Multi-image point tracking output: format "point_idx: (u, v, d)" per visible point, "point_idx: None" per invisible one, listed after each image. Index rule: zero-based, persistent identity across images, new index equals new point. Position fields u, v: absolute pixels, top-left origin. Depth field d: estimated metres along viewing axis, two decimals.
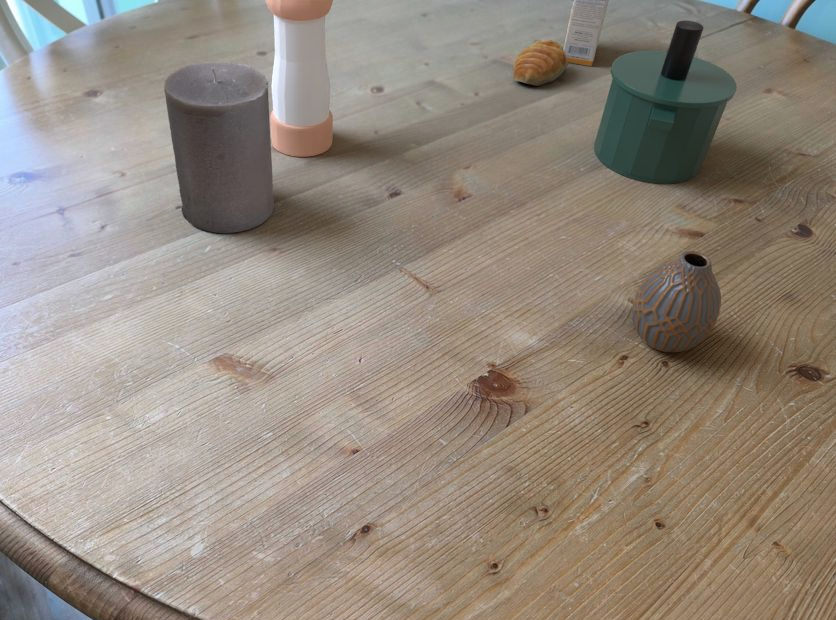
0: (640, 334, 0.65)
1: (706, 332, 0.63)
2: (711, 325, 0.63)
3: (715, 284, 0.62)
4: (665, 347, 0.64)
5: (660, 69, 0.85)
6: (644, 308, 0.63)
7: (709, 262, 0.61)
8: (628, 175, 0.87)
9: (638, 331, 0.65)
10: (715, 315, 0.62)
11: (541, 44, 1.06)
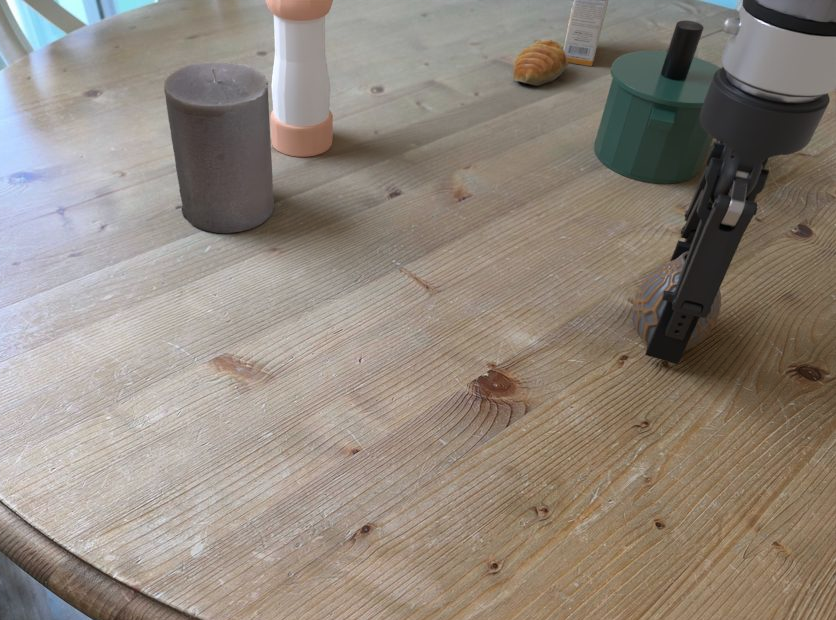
0: (640, 334, 0.65)
1: (706, 332, 0.63)
2: (711, 325, 0.63)
3: None
4: None
5: (660, 69, 0.85)
6: (644, 308, 0.63)
7: None
8: (628, 175, 0.87)
9: (638, 331, 0.65)
10: (715, 315, 0.62)
11: (541, 44, 1.06)
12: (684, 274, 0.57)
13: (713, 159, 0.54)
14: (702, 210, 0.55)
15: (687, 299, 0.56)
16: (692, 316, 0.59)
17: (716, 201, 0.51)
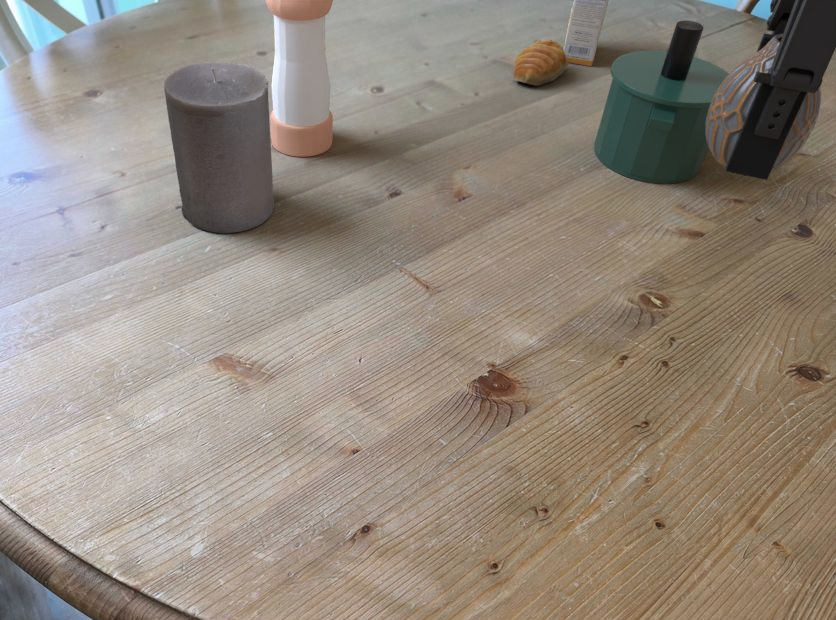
0: (717, 150, 0.53)
1: (802, 138, 0.51)
2: (809, 128, 0.50)
3: None
4: None
5: (660, 69, 0.85)
6: (725, 111, 0.51)
7: None
8: (628, 175, 0.87)
9: (714, 147, 0.53)
10: (815, 115, 0.50)
11: (541, 44, 1.06)
12: (786, 41, 0.45)
13: None
14: None
15: (792, 67, 0.44)
16: (793, 100, 0.46)
17: None
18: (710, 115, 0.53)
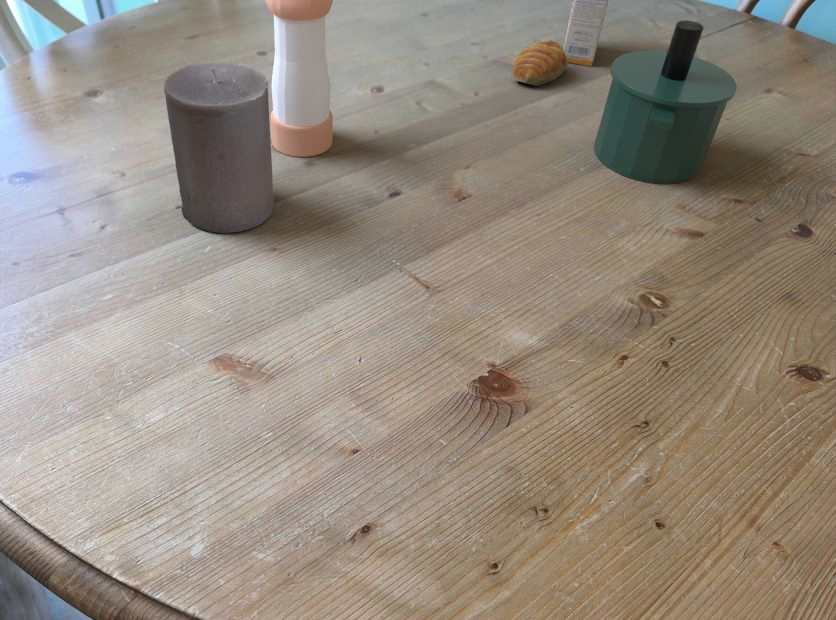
0: None
1: None
2: None
3: None
4: None
5: (660, 69, 0.85)
6: None
7: None
8: (628, 175, 0.87)
9: None
10: None
11: (541, 44, 1.06)
12: None
13: None
14: None
15: None
16: None
17: None
18: None
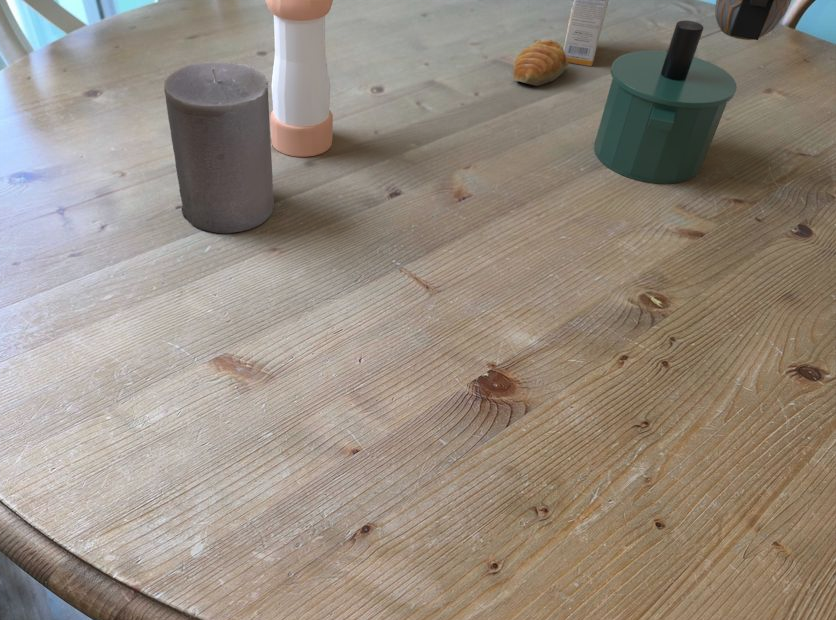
0: (723, 22, 0.77)
1: (782, 10, 0.74)
2: (786, 3, 0.74)
3: None
4: None
5: (660, 69, 0.85)
6: None
7: None
8: (628, 175, 0.87)
9: (721, 20, 0.77)
10: None
11: (541, 44, 1.06)
12: None
13: None
14: None
15: None
16: None
17: None
18: None
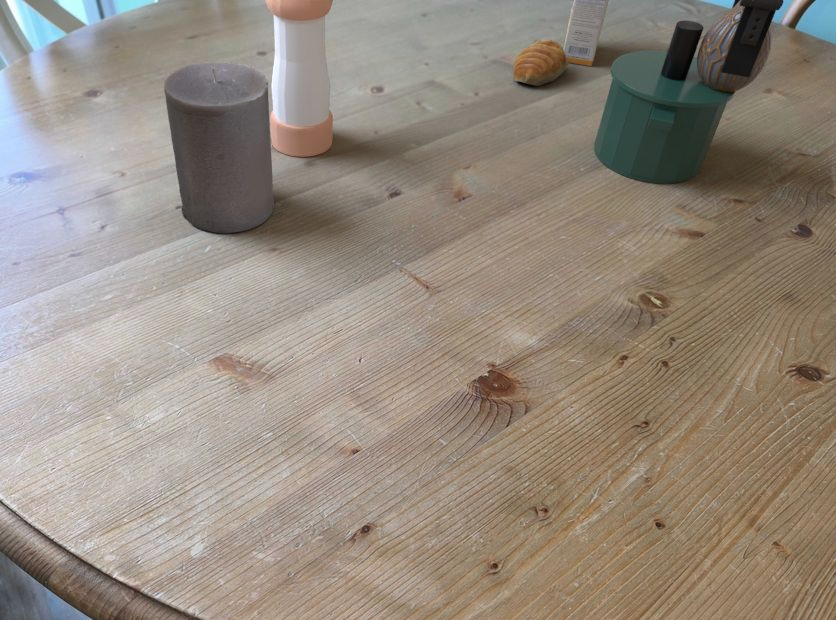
0: (704, 75, 0.81)
1: (759, 66, 0.78)
2: (763, 59, 0.78)
3: None
4: (725, 82, 0.80)
5: (660, 69, 0.85)
6: (709, 48, 0.79)
7: None
8: (628, 175, 0.87)
9: (702, 73, 0.81)
10: (767, 50, 0.78)
11: (541, 44, 1.06)
12: None
13: None
14: None
15: None
16: (765, 17, 0.70)
17: None
18: (700, 52, 0.80)
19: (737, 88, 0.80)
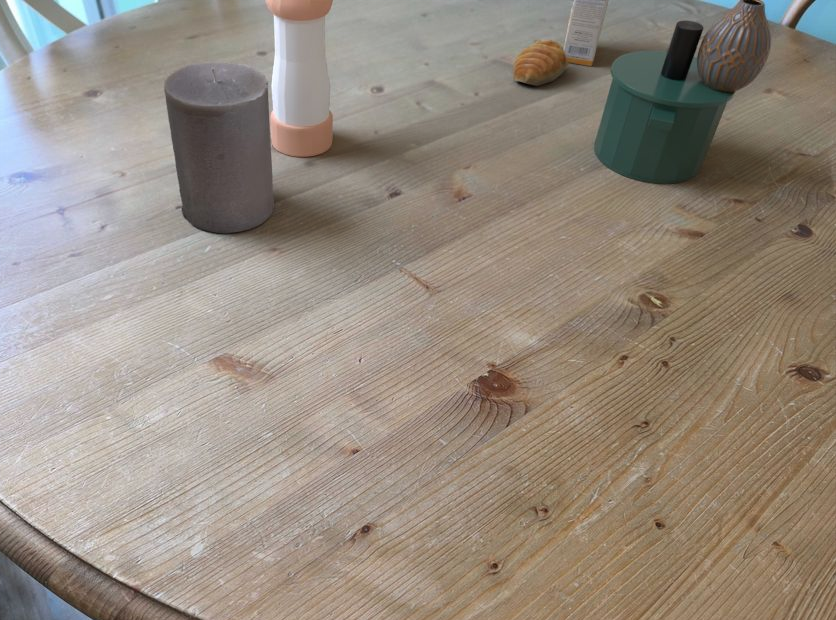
0: (704, 75, 0.81)
1: (759, 66, 0.78)
2: (763, 59, 0.78)
3: (767, 23, 0.77)
4: (725, 82, 0.80)
5: (660, 69, 0.85)
6: (709, 48, 0.79)
7: (763, 3, 0.76)
8: (628, 175, 0.87)
9: (702, 73, 0.81)
10: (767, 50, 0.78)
11: (541, 44, 1.06)
12: None
13: None
14: None
15: None
16: None
17: None
18: (700, 52, 0.80)
19: (737, 88, 0.80)
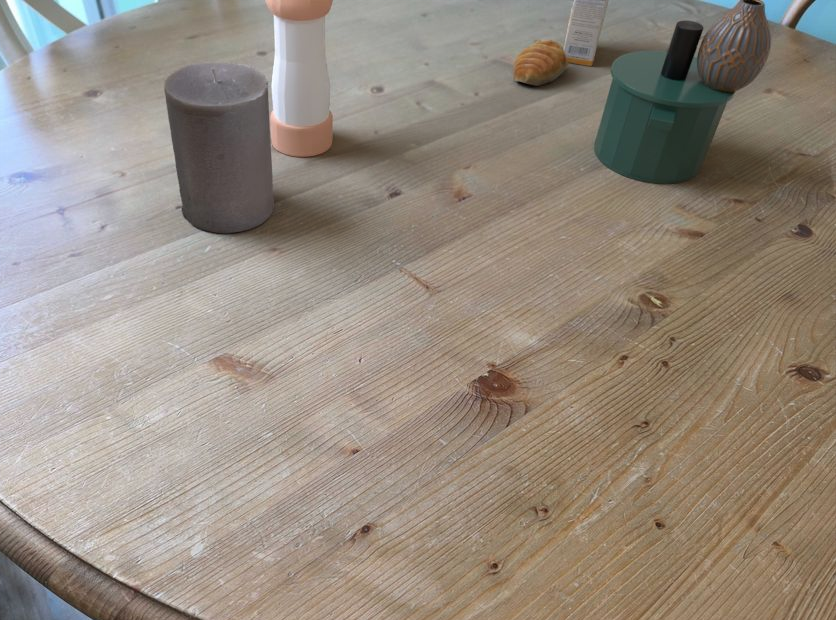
0: (704, 75, 0.81)
1: (759, 66, 0.78)
2: (763, 59, 0.78)
3: (767, 23, 0.77)
4: (725, 82, 0.80)
5: (660, 69, 0.85)
6: (709, 48, 0.79)
7: (763, 3, 0.76)
8: (628, 175, 0.87)
9: (702, 73, 0.81)
10: (767, 50, 0.78)
11: (541, 44, 1.06)
12: None
13: None
14: None
15: None
16: None
17: None
18: (700, 52, 0.80)
19: (737, 88, 0.80)
